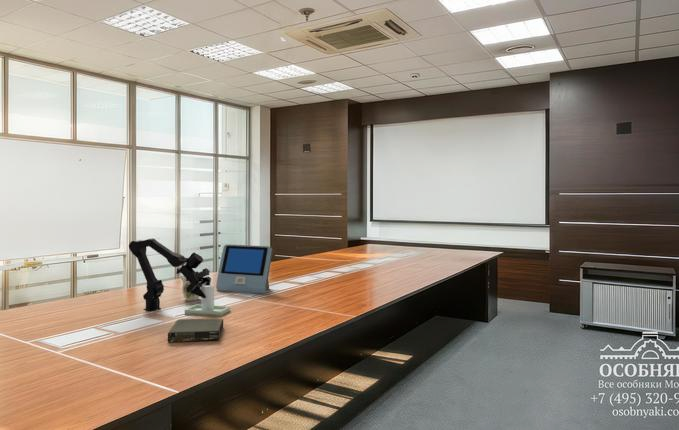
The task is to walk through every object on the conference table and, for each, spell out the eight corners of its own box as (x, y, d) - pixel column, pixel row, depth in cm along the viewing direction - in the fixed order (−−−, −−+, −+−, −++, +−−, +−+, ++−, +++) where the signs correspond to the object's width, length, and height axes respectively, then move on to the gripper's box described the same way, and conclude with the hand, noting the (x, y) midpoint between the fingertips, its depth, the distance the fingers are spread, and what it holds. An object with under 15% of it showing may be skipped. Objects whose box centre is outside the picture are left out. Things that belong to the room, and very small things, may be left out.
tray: (184, 314, 239) (184, 309, 239) (195, 308, 251) (195, 304, 251) (220, 316, 236) (220, 311, 235) (230, 310, 247) (230, 306, 247)
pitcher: (205, 301, 268) (205, 278, 268) (175, 301, 268) (175, 278, 268) (211, 297, 279) (211, 275, 279) (181, 297, 279) (181, 274, 279)
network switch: (166, 345, 190) (166, 333, 189) (171, 330, 212) (171, 319, 212) (224, 341, 196) (224, 330, 196) (223, 326, 219) (223, 316, 218)
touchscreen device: (214, 291, 298) (215, 245, 298) (230, 286, 317) (230, 243, 317) (263, 295, 288) (264, 247, 288) (276, 290, 307) (277, 245, 307)
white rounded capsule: (202, 312, 239) (203, 287, 238) (200, 310, 244) (200, 285, 244) (215, 311, 242) (215, 286, 242) (212, 308, 247) (212, 284, 247)
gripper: (191, 266, 234) (211, 289, 232) (207, 261, 252) (226, 282, 251) (177, 281, 235) (197, 303, 234) (194, 275, 254) (213, 296, 252)
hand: (209, 295), depth 243 cm, fingers open, 9 cm apart
